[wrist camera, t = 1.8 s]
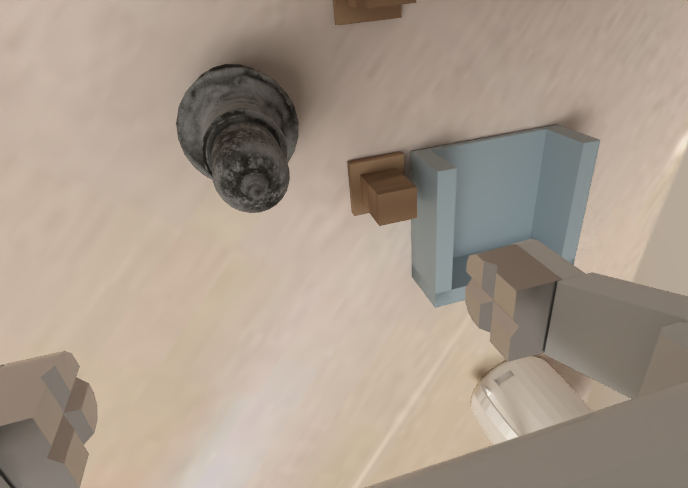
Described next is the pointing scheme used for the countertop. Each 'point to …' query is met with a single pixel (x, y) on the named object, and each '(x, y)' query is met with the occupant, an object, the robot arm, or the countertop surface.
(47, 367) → the robot arm
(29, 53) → the countertop surface
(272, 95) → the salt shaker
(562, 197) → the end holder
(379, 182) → the pair of brown posts
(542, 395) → the mug
